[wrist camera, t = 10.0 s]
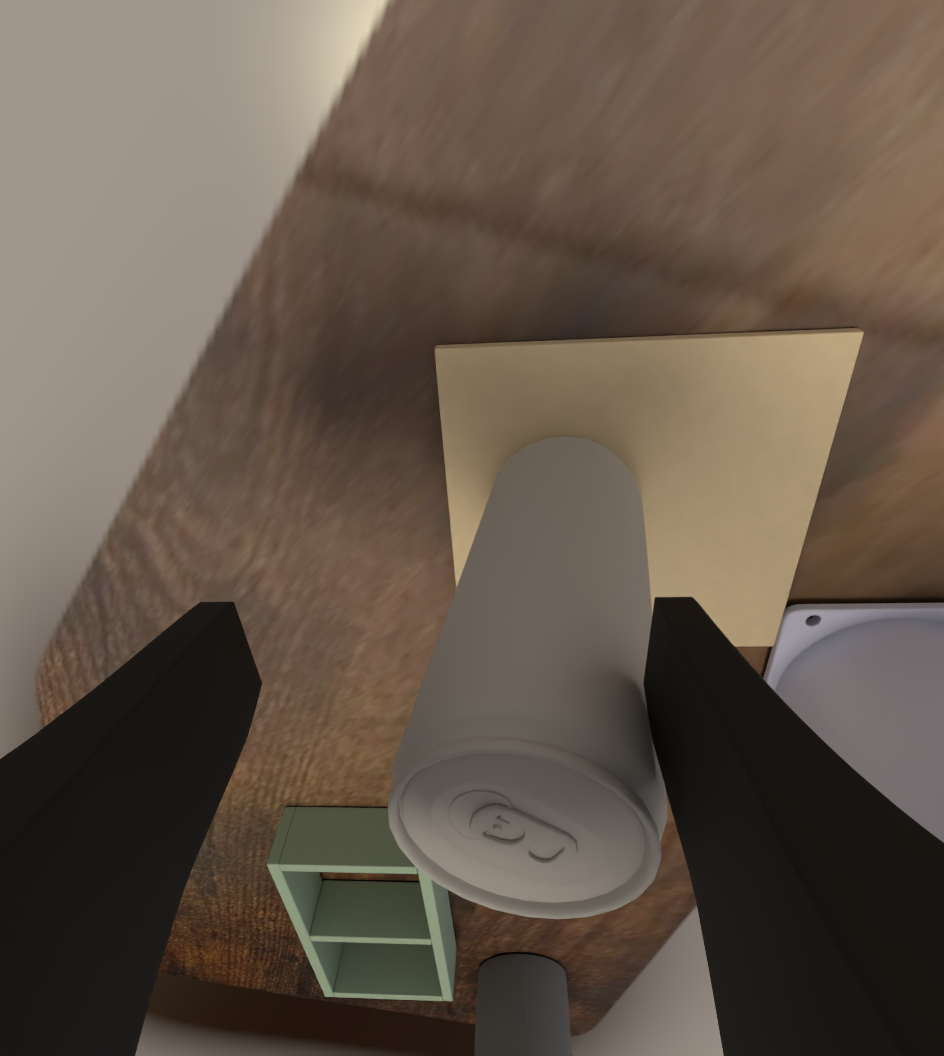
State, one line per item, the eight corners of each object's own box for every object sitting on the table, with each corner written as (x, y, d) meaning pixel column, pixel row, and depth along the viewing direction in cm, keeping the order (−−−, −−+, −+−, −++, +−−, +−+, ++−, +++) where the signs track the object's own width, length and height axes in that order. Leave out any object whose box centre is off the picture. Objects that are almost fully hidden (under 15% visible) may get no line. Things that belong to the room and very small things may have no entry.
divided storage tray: (435, 808, 32) (429, 867, 29) (456, 946, 40) (453, 1001, 38) (284, 806, 32) (265, 864, 30) (336, 942, 41) (324, 997, 38)
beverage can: (534, 401, 19) (442, 694, 9) (674, 473, 19) (736, 833, 9) (470, 520, 22) (344, 850, 12) (594, 581, 22) (575, 954, 12)
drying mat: (858, 327, 18) (864, 331, 17) (770, 639, 24) (774, 646, 24) (435, 344, 19) (434, 348, 18) (462, 641, 25) (461, 648, 25)
